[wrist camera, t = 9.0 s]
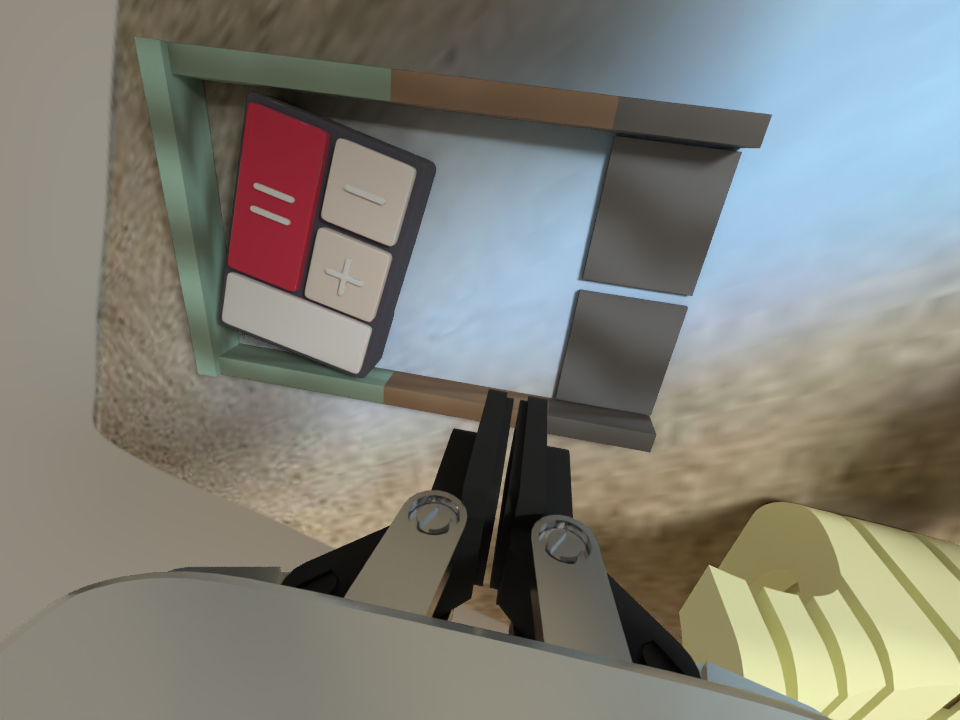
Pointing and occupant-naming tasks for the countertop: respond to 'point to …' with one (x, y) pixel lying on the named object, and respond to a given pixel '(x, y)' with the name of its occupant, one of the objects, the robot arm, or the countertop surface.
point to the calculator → (320, 235)
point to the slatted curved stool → (834, 615)
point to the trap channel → (632, 165)
